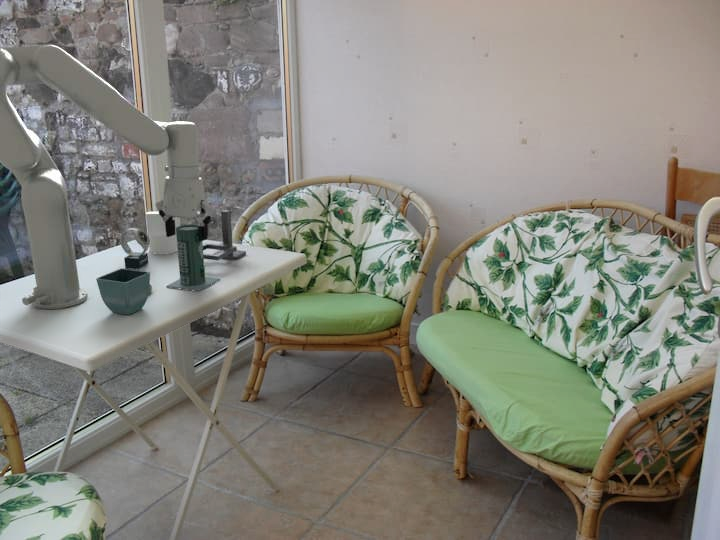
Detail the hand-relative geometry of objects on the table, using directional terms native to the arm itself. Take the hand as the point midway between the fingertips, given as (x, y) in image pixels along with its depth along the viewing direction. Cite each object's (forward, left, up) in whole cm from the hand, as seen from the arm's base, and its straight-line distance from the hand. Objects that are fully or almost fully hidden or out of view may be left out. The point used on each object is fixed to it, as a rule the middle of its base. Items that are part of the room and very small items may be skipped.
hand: (186, 237), depth 171 cm
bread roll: (-10, +10, -13) cm, 20 cm away
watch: (+9, +23, -13) cm, 28 cm away
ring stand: (+20, +3, -13) cm, 24 cm away
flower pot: (-21, +3, -13) cm, 25 cm away
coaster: (+1, -1, -13) cm, 13 cm away
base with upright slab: (+25, +25, -13) cm, 38 cm away
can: (+1, 0, -12) cm, 12 cm away
